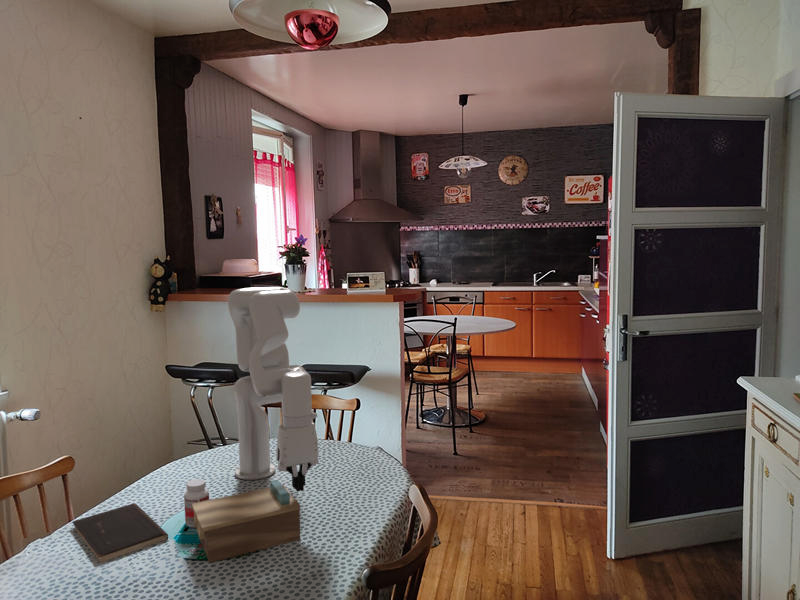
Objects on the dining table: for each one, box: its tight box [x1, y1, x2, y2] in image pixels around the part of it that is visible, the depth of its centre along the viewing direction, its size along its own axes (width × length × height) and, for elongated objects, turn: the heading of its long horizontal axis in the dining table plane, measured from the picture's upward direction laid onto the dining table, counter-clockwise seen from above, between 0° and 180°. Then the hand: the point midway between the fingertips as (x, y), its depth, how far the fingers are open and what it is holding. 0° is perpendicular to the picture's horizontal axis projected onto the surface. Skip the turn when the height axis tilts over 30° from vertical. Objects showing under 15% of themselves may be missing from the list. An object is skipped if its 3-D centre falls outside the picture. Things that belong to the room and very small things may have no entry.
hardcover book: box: [71, 502, 169, 563], centre depth 147 cm, size 16×23×2 cm
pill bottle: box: [183, 478, 210, 528], centre depth 152 cm, size 6×6×11 cm
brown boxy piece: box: [198, 508, 301, 564], centre depth 143 cm, size 13×22×8 cm, turn 118°
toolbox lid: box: [192, 479, 301, 540], centre depth 143 cm, size 14×23×7 cm, turn 118°
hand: (298, 489), depth 149 cm, fingers closed
